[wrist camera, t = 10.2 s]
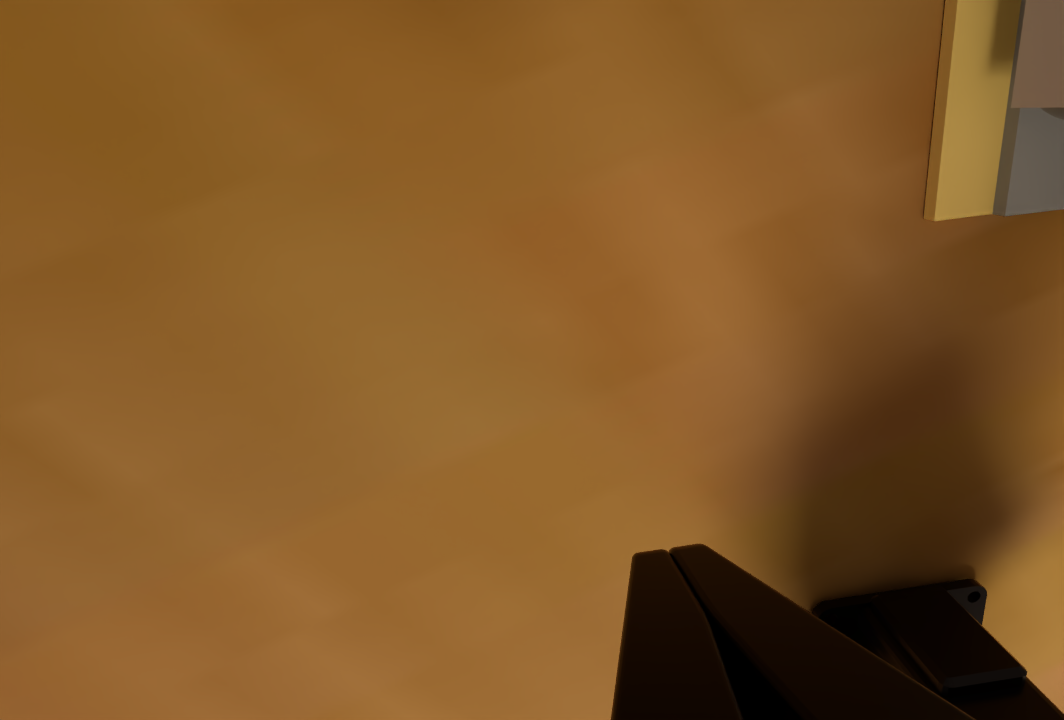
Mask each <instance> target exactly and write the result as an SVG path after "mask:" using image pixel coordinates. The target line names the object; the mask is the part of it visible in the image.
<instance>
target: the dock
mask: <svg viewBox="0 0 1064 720" xmlns="http://www.w3.org/2000/svg"><path fill="white" fill-rule="evenodd" d="M1025 5H1026V0H945V10H944V20H943V29H942V39H941V49H940V59H939V69H938V79H937V89H936V99H935V109H934V119H933V129H932V139H931V149H930V159H929V169H928V179H927V189H926V199H925V209H924V219H927V220H931V221H940V220H948V219H956V218H964V217H972V216H980V215H988V214H995V215H1000V216H1012V215H1020V214H1028V213H1036V212H1044V211H1052V210H1060V209H1064V120H1063V119H1060V118H1056V117H1054V116H1052V115H1050V114H1048V113H1046V112H1045V111H1043V110H1042V109H1041V108H1011V103H1012V96H1013V89H1014V82H1015V75H1016V68H1017V61H1018V54H1019V47H1020V40H1021V33H1022V26H1023V19H1024V12H1025Z"/></svg>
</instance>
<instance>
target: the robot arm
mask: <svg viewBox="0 0 1064 720" xmlns="http://www.w3.org/2000/svg"><path fill="white" fill-rule="evenodd" d="M986 597H987V591H986V590H985V588H984V587H983V586H982V585H981V584H980V583H978V582H977V581H976V580H974V579H965V580H959V581H952V582H946V583H939V584H933V585H926V586H920V587H913V588H907V589H900V590H893V591H887V592H880V593H874V594H867V595H861V596H854V597H848V598H841V599H835V600H828V601H824V602H821V603H819V604H818V605H816V607H815V608H814V609H813V613H812V614H811V613H810V612H808V611H807V610H805V609H804V608H802V607H800V606H799V605H797V604H796V603H794V602H793V601H791V600H790V599H788V598H787V597H785V596H783V595H782V594H780V593H779V592H777V591H776V590H774V589H773V588H771V587H769V586H768V585H766V584H765V583H763V582H762V581H760V580H759V579H757V578H756V577H754V576H752V575H751V574H749V573H748V572H746V571H745V570H743V569H742V568H740V567H738V566H737V565H735V564H734V563H732V562H731V561H729V560H728V559H726V558H725V557H723V556H721V555H720V554H718V553H717V552H715V551H714V550H712V549H711V548H709V547H708V546H706V545H703V544H693V545H686V546H680V547H673V548H671V549H670V550H669V552H668V551H666V550H663V549H659V550H653V551H646V552H639V553H636V554H634V555H633V557H632V563H631V570H630V578H629V586H628V593H627V601H626V608H625V616H624V624H623V631H622V639H621V646H620V654H619V662H618V669H617V677H616V685H615V692H614V700H613V707H612V715H611V720H1064V714H1063V713H1062V712H1061V711H1060V710H1059V709H1058V708H1057V707H1056V706H1055V705H1054V704H1053V703H1052V702H1051V701H1050V700H1049V699H1048V698H1047V697H1046V696H1045V695H1044V694H1043V693H1042V692H1041V691H1040V690H1039V689H1038V688H1037V687H1036V686H1035V685H1034V684H1033V683H1032V682H1031V681H1030V680H1029V679H1028V678H1027V677H1026V675H1027V671H1026V669H1025V668H1024V667H1023V666H1022V665H1021V664H1020V663H1019V662H1018V661H1017V660H1016V659H1015V658H1014V657H1013V656H1012V655H1011V654H1010V653H1009V652H1008V651H1007V650H1006V649H1005V648H1004V647H1003V646H1002V645H1001V644H1000V643H999V642H998V641H997V640H996V639H995V638H994V637H993V636H992V635H991V634H990V633H989V632H988V631H987V630H986V629H985V628H984V627H983V626H982V621H983V615H984V609H985V603H986ZM828 614H830V615H829V616H827V615H828ZM826 616H827V617H826Z"/></svg>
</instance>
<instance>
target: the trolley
mask: <svg viewBox="0 0 1064 720" xmlns="http://www.w3.org/2000/svg"><path fill="white" fill-rule="evenodd" d="M1011 108H1041V109H1042V110H1043V111H1045V112H1046V113H1048V114H1050V115H1052V116H1054V117H1056V118H1060V119H1063V120H1064V0H1026V5H1025V12H1024V19H1023V26H1022V33H1021V40H1020V47H1019V54H1018V61H1017V68H1016V75H1015V82H1014V89H1013V96H1012V103H1011Z"/></svg>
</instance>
